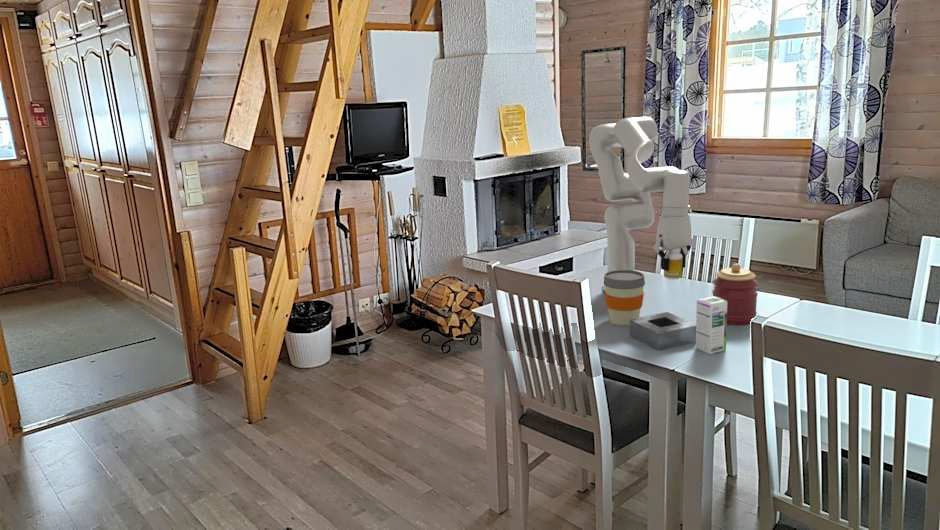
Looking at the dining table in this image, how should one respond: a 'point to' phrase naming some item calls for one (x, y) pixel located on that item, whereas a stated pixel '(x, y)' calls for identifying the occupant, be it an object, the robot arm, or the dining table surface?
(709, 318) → the syrup box
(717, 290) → the canister
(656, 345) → the steel collar
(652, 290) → the dining table surface
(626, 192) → the robot arm
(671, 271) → the supplement bottle
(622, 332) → the dining table surface
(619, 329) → the dining table surface
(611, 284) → the reusable coffee cup
